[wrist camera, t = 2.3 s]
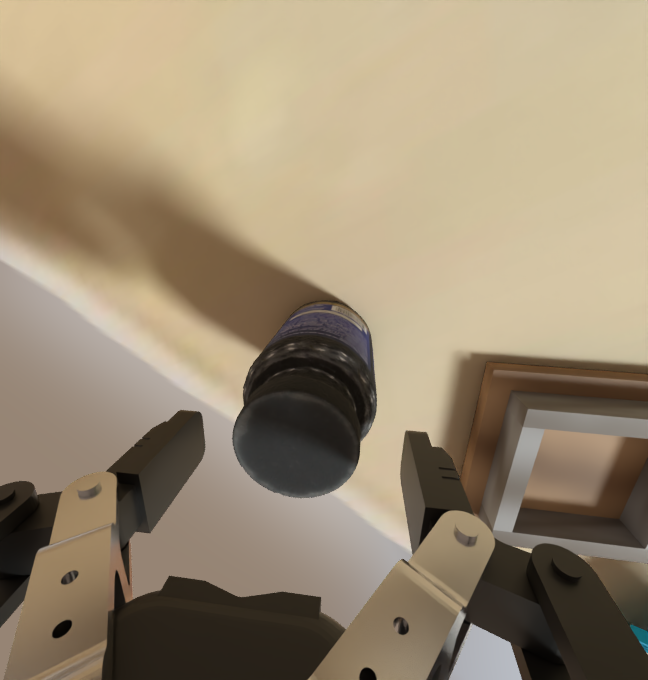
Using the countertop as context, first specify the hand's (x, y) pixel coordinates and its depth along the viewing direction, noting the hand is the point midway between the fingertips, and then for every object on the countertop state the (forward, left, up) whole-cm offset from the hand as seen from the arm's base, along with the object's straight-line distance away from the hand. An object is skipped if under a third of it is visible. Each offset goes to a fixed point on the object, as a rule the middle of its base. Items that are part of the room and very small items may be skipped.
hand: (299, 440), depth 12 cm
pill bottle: (0, 0, -10) cm, 10 cm away
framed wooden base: (+7, +17, -10) cm, 21 cm away
